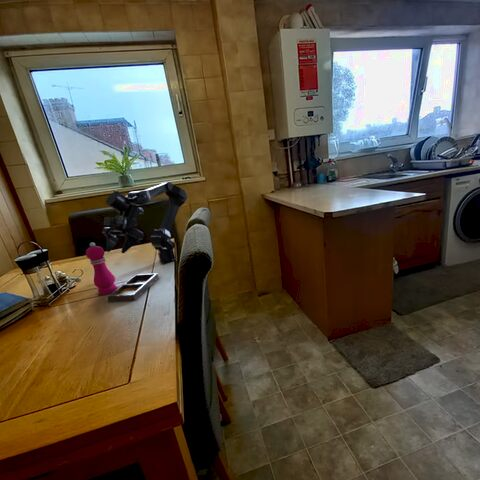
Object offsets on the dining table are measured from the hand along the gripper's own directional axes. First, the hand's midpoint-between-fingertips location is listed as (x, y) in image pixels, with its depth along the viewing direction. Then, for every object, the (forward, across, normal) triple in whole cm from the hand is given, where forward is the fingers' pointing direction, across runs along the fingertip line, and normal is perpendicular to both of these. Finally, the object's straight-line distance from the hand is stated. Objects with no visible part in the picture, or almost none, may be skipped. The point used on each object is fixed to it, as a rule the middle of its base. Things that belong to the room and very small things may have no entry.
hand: (114, 252), depth 111 cm
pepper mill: (+15, +1, +3) cm, 16 cm away
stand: (+12, +11, +6) cm, 18 cm away
